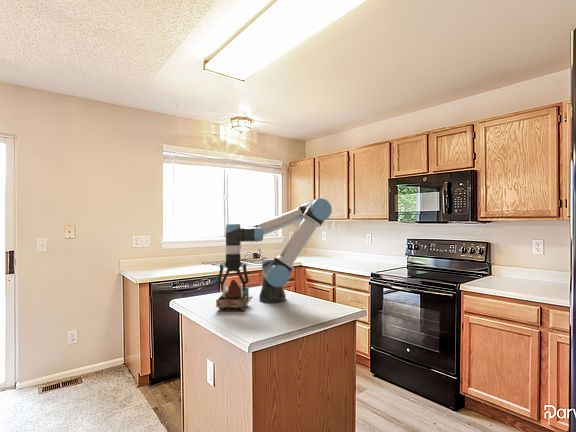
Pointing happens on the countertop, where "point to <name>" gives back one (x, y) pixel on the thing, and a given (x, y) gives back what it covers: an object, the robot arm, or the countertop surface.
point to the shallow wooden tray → (233, 301)
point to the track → (233, 311)
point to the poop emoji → (233, 290)
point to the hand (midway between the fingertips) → (233, 296)
